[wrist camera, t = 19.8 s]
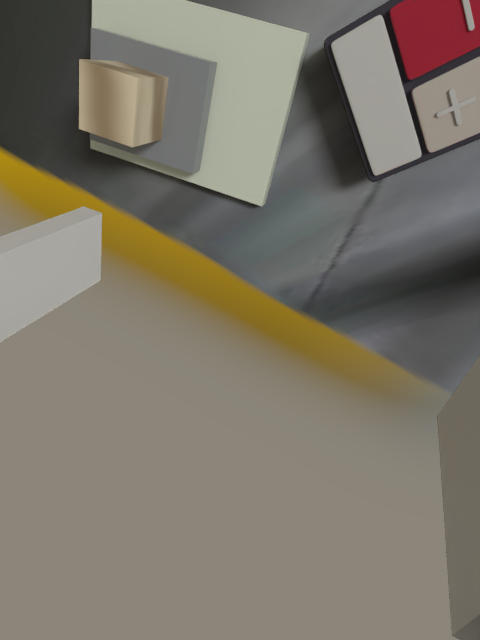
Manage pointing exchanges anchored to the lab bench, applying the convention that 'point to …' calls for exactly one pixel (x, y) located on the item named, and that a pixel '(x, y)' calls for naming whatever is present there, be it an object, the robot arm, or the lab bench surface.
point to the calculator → (409, 81)
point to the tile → (181, 102)
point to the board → (221, 86)
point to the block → (121, 102)
